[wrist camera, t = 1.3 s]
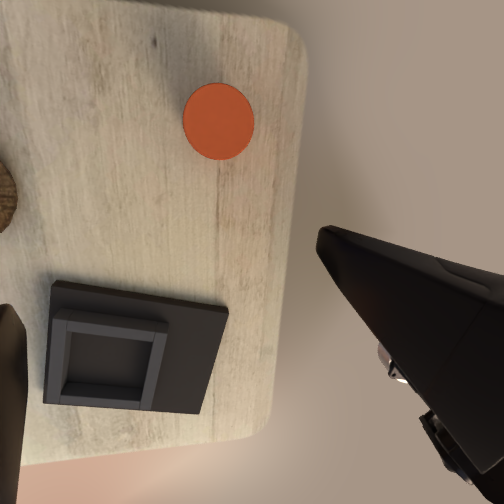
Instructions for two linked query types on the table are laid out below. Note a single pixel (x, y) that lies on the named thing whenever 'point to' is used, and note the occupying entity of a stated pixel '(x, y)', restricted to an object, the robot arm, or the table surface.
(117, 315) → the base pad
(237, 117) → the orange cylinder
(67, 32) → the table surface
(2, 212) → the fossilized seashell
